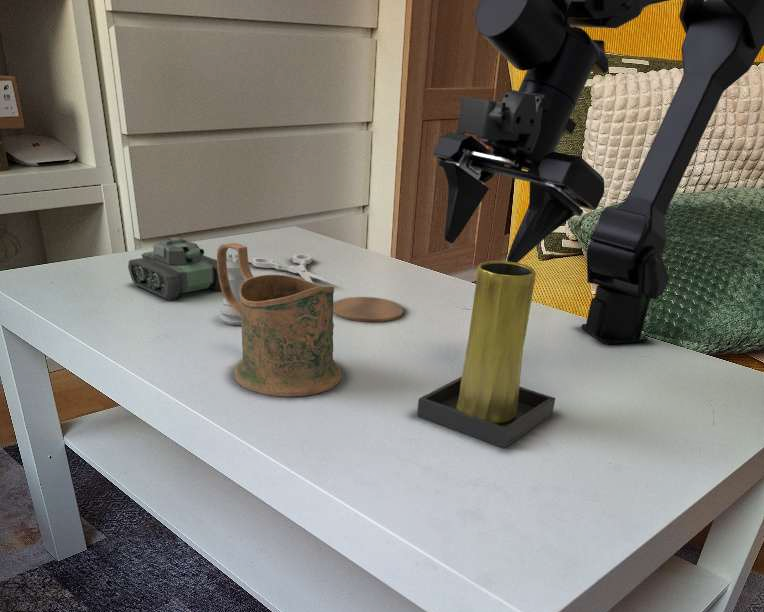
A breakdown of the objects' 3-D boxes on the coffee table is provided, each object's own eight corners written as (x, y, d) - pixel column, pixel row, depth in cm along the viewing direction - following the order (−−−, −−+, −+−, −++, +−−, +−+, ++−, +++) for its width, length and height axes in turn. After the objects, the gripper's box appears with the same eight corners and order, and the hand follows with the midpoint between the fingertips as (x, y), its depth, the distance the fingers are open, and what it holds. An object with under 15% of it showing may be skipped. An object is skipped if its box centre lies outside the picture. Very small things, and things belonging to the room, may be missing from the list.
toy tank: (188, 272, 111) (184, 224, 108) (236, 291, 105) (233, 241, 101) (126, 283, 105) (120, 233, 101) (173, 305, 98) (168, 251, 94)
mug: (265, 333, 91) (262, 232, 84) (362, 378, 81) (367, 267, 74) (183, 354, 84) (172, 245, 77) (279, 406, 74) (276, 285, 67)
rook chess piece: (212, 322, 93) (207, 257, 89) (231, 312, 97) (227, 250, 93) (243, 328, 92) (239, 263, 88) (261, 318, 96) (259, 255, 91)
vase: (501, 431, 71) (524, 281, 63) (445, 413, 73) (461, 268, 66) (525, 409, 75) (550, 267, 67) (472, 394, 78) (490, 255, 70)
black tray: (469, 387, 80) (471, 370, 79) (552, 415, 75) (555, 398, 74) (416, 415, 74) (418, 398, 72) (504, 448, 69) (507, 430, 68)
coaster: (391, 298, 106) (391, 296, 106) (412, 320, 98) (412, 317, 98) (325, 301, 103) (326, 298, 103) (342, 323, 96) (342, 320, 95)
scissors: (302, 251, 123) (361, 282, 108) (302, 256, 123) (361, 287, 109) (242, 256, 118) (296, 289, 104) (242, 261, 118) (296, 295, 104)
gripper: (432, 45, 72) (368, 202, 76) (582, 57, 60) (498, 244, 64) (497, 102, 80) (437, 242, 84) (641, 123, 68) (563, 286, 72)
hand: (478, 252), depth 75 cm, fingers open, 9 cm apart
